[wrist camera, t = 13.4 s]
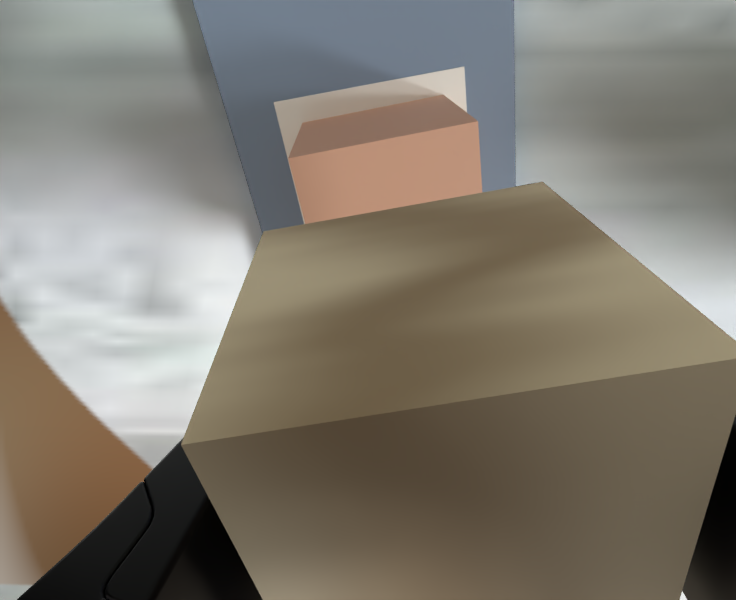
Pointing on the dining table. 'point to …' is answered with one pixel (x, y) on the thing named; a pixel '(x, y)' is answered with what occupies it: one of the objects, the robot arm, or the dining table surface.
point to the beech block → (462, 409)
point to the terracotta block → (385, 159)
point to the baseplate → (355, 76)
